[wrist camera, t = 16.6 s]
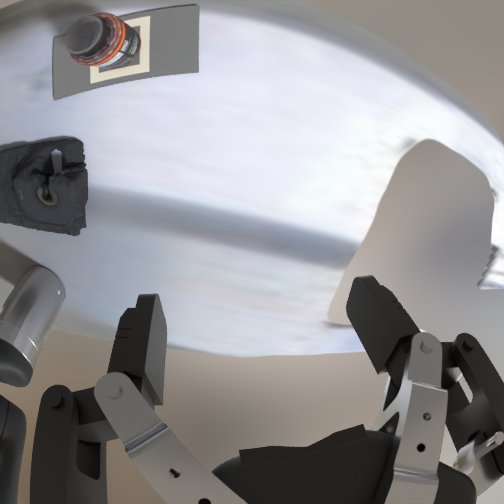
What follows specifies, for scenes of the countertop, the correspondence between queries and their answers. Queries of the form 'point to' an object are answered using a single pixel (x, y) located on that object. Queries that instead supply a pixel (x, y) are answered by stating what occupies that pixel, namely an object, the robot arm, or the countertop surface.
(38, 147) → the black pouch
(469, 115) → the countertop surface
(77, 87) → the pad
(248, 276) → the countertop surface
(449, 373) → the robot arm
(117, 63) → the supplement bottle
